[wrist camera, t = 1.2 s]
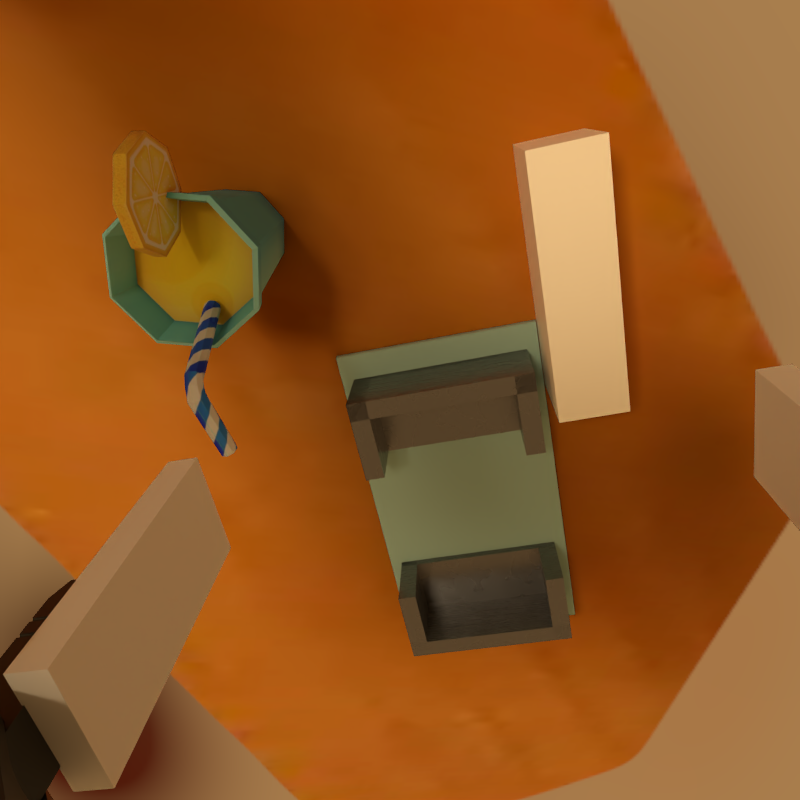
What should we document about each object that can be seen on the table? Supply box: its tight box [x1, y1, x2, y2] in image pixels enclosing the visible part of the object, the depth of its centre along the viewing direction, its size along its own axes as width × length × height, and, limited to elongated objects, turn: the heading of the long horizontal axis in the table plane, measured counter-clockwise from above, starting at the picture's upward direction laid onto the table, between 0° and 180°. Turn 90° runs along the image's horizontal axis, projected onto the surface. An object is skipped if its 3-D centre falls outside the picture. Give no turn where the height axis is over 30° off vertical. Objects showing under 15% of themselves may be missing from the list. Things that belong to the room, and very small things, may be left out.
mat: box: [336, 320, 575, 615], centre depth 46 cm, size 24×13×1 cm, turn 12°
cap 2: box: [399, 542, 572, 656], centre depth 47 cm, size 5×11×4 cm, turn 102°
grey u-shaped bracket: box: [346, 349, 546, 480], centre depth 41 cm, size 5×11×4 cm, turn 102°
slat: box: [513, 129, 630, 423], centre depth 37 cm, size 15×4×6 cm, turn 12°
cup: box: [102, 131, 284, 456], centre depth 33 cm, size 14×8×15 cm, turn 18°
